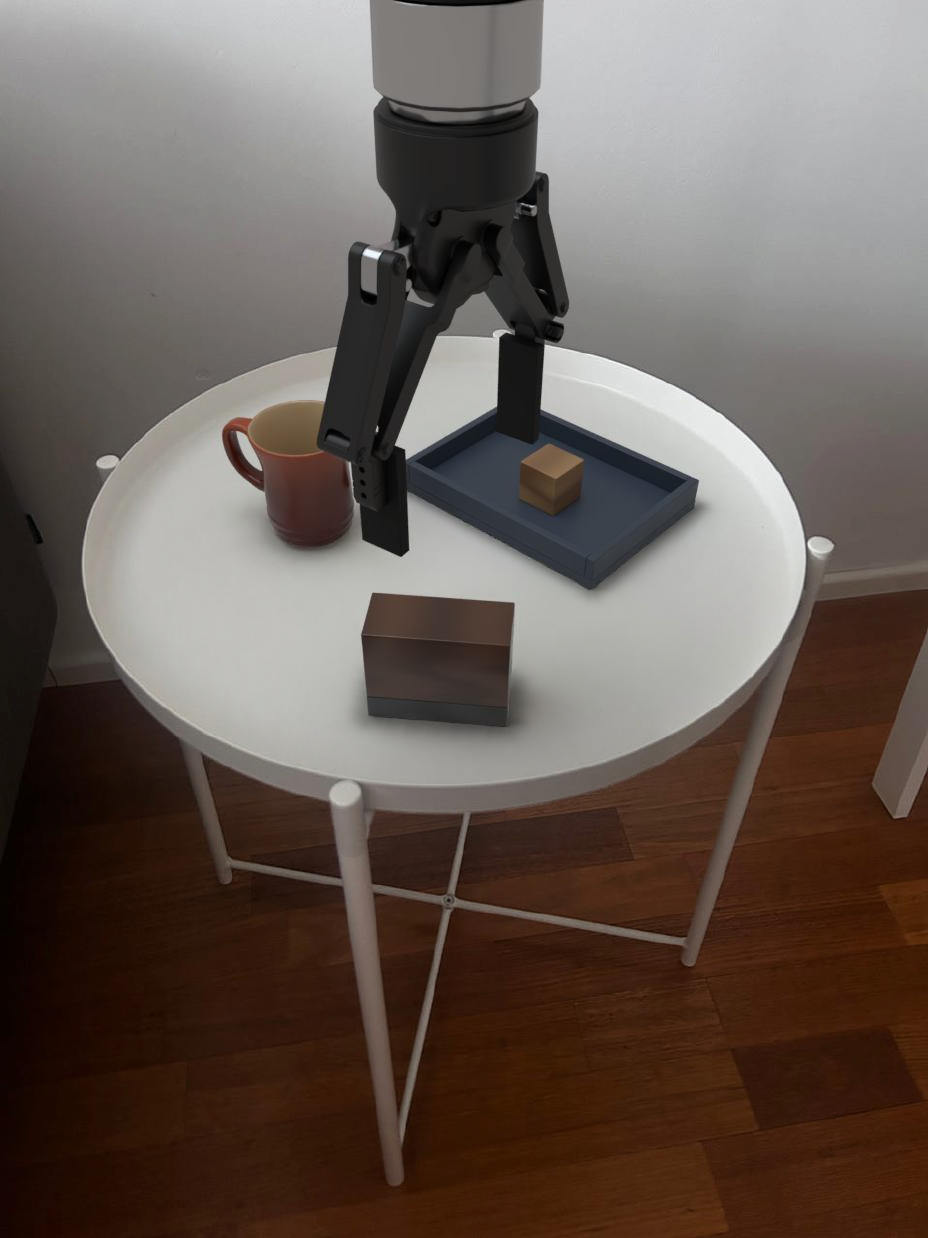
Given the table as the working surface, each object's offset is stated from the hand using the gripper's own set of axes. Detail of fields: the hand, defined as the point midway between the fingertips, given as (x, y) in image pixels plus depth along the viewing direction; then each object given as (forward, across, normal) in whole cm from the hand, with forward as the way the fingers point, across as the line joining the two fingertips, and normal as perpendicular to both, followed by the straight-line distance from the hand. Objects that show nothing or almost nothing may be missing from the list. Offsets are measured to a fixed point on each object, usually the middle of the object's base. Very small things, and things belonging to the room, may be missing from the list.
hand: (456, 487), depth 60 cm
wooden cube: (+19, -25, -7) cm, 32 cm away
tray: (+20, -26, -8) cm, 34 cm away
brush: (+20, 0, -2) cm, 20 cm away
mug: (+20, -10, -24) cm, 33 cm away
